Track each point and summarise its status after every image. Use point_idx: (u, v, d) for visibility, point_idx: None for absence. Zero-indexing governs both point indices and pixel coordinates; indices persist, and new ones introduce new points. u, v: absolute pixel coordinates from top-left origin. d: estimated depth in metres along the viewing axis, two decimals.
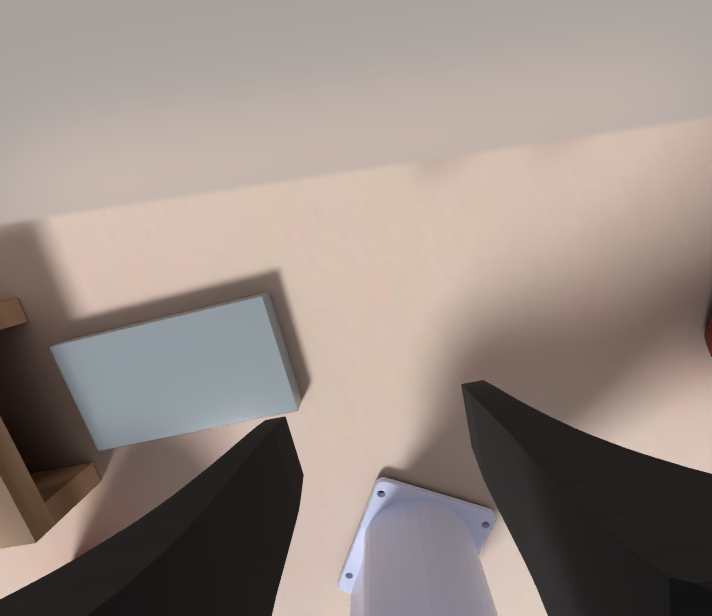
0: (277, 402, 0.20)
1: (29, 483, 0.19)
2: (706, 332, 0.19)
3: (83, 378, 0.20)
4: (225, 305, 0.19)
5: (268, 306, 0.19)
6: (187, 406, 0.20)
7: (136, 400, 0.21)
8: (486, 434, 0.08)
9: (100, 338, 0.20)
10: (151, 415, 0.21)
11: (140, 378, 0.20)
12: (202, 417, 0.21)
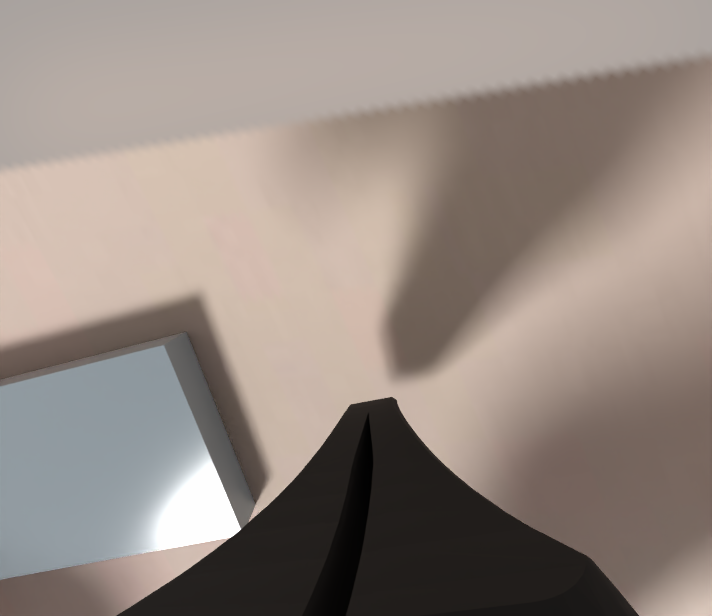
0: (207, 521, 0.12)
1: None
2: None
3: None
4: (101, 361, 0.11)
5: (182, 359, 0.11)
6: (56, 528, 0.12)
7: None
8: None
9: None
10: None
11: None
12: (83, 544, 0.12)
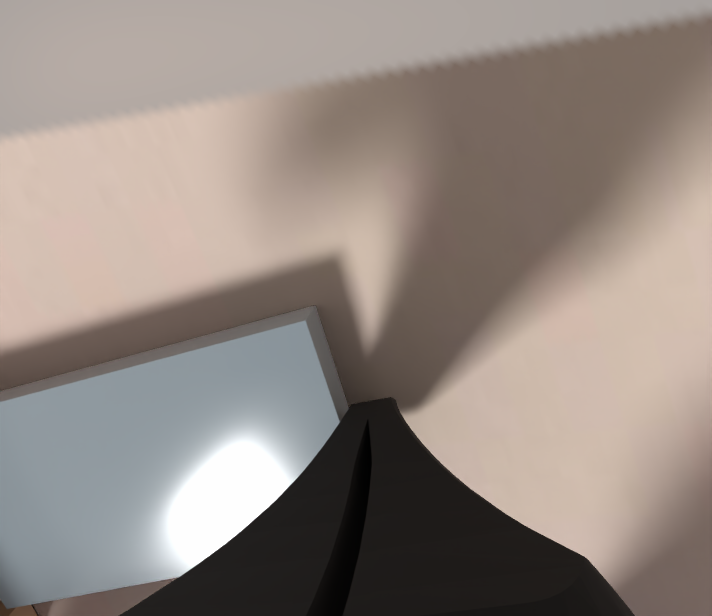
0: None
1: None
2: None
3: None
4: (227, 341, 0.09)
5: (317, 338, 0.09)
6: (162, 534, 0.11)
7: (65, 525, 0.11)
8: None
9: None
10: (95, 550, 0.11)
11: (67, 487, 0.10)
12: (192, 553, 0.11)
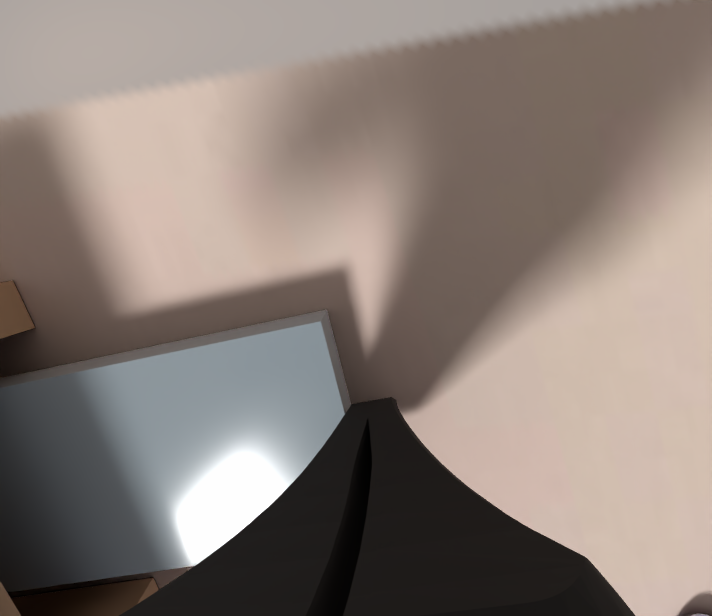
0: None
1: None
2: None
3: None
4: (243, 337, 0.09)
5: (329, 339, 0.10)
6: (163, 525, 0.11)
7: (67, 511, 0.11)
8: None
9: None
10: (95, 538, 0.11)
11: (72, 473, 0.10)
12: (192, 545, 0.11)
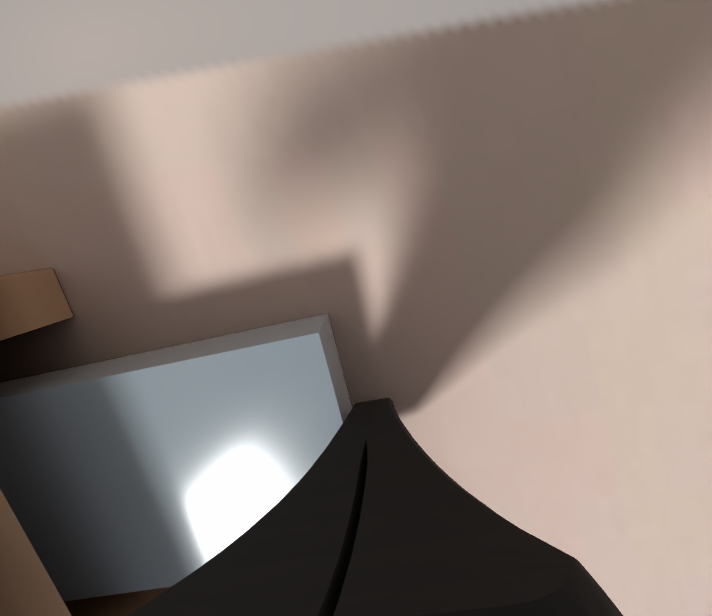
0: None
1: None
2: None
3: None
4: (236, 349, 0.09)
5: (328, 350, 0.09)
6: (155, 542, 0.10)
7: (55, 529, 0.10)
8: None
9: None
10: (85, 556, 0.11)
11: (59, 489, 0.10)
12: (186, 563, 0.10)
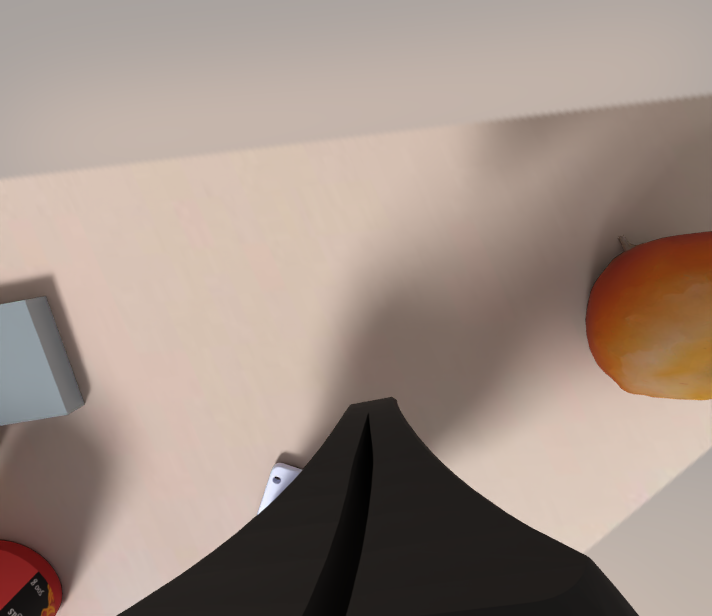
0: (47, 405, 0.20)
1: None
2: None
3: None
4: None
5: (38, 309, 0.20)
6: None
7: None
8: None
9: None
10: None
11: None
12: None
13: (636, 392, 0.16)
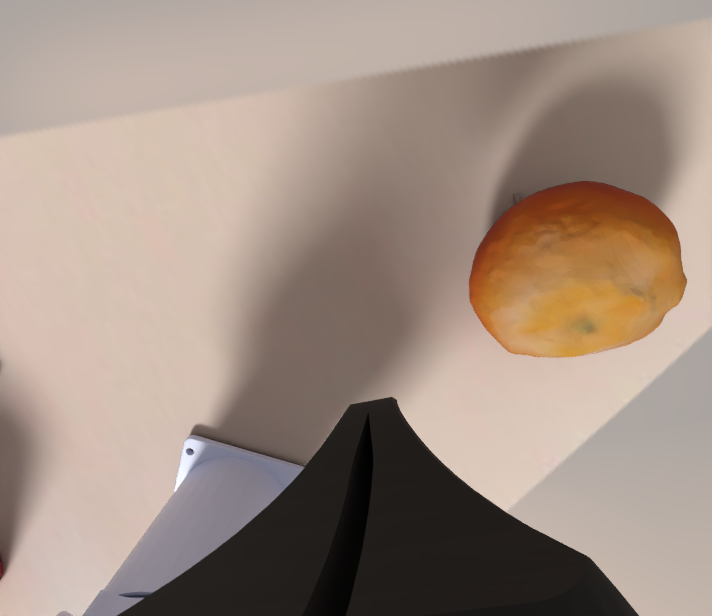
0: None
1: None
2: None
3: None
4: None
5: None
6: None
7: None
8: None
9: None
10: None
11: None
12: None
13: (515, 352, 0.16)
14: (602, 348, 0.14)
